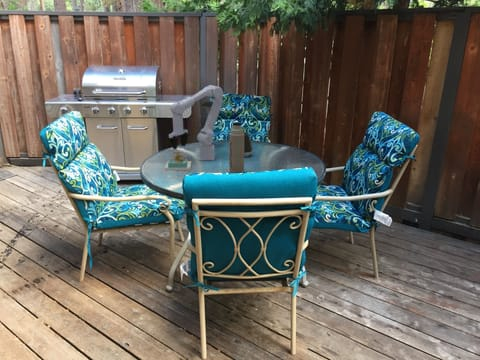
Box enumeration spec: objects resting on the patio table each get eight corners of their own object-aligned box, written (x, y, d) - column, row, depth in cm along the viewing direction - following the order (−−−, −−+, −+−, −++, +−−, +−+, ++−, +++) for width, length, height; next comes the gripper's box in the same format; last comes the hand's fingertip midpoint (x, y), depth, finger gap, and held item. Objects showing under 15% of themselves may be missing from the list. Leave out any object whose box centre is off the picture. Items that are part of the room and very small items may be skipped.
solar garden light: (222, 145, 280) (221, 101, 270) (217, 150, 269) (216, 104, 258) (205, 144, 282) (204, 100, 272) (199, 148, 271) (198, 103, 261)
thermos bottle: (229, 175, 222) (229, 124, 212) (229, 170, 229) (229, 121, 219) (244, 175, 222) (245, 124, 213) (243, 170, 230) (243, 121, 220)
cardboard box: (182, 160, 241) (181, 152, 239) (183, 163, 235) (182, 155, 234) (174, 161, 240) (174, 152, 238) (175, 164, 234) (174, 155, 233)
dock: (191, 163, 241) (191, 156, 240) (190, 170, 230) (189, 163, 229) (167, 163, 240) (167, 157, 239) (164, 170, 229) (164, 163, 228)
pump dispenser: (237, 158, 251) (237, 134, 246) (234, 153, 261) (234, 130, 255) (253, 157, 253) (254, 133, 248) (250, 153, 263) (250, 129, 257)
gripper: (180, 121, 242) (181, 143, 247) (164, 126, 231) (165, 149, 235) (190, 122, 239) (191, 145, 243) (173, 127, 227) (175, 151, 232)
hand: (179, 147), depth 239 cm, fingers open, 7 cm apart
